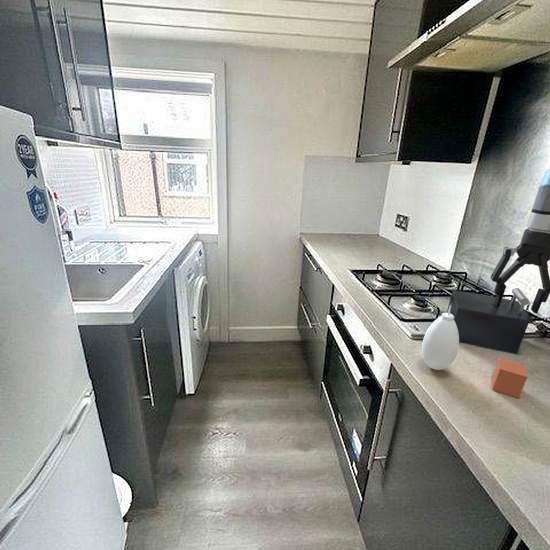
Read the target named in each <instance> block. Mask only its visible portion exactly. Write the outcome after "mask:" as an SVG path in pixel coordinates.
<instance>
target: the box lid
mask: <svg viewBox="0 0 550 550" xmlns="http://www.w3.org/2000/svg"><path fill="white" fill-rule="evenodd" d="M511 293H512V294H513V296H512V298H511V299H508V298H504V297H503V298H502V301H501V304H500V306H499V307H497V306H496V305H495V303H494V301H495V298H496V296H490V295H485V294H478V293H471V292H466V291H461V290H454V289H453V290H452V291H451V295H452V294H453V297H454V300H455V303H456V307H457V310H460V311H465V312H470V313H476V314H481V315H486V316H492V317H497V318H503V319H508V320H513V321H519V322H524V323H529V324H530V325H533V324H534V320H533V318H532V317H531V316H530V314H529V313H528V312H527V311H526V309H525V306H527V305H529V304H530V300H529V298H528V297H527V296H526V295H525V293H524V292H523V291H522V290H521V289H520V288H518V287H514V288H513V289H512V290H511ZM529 324H528V325H529Z"/></svg>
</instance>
